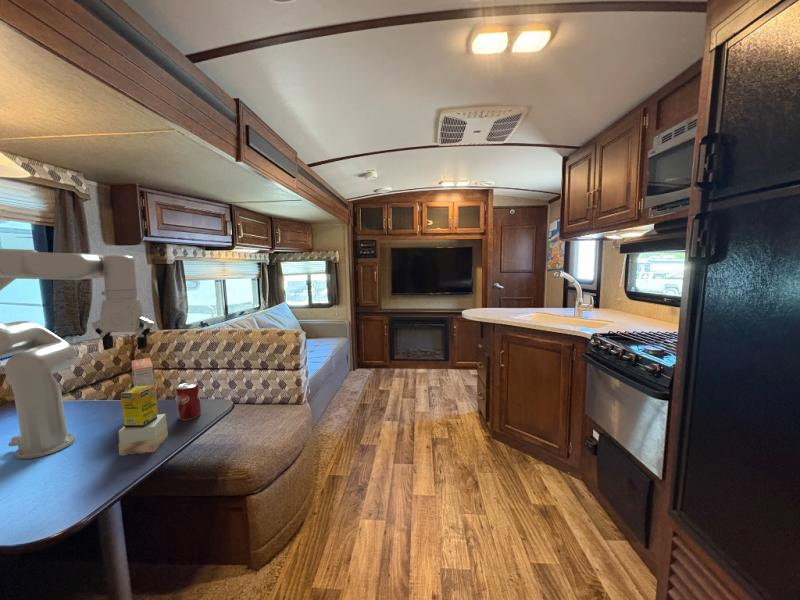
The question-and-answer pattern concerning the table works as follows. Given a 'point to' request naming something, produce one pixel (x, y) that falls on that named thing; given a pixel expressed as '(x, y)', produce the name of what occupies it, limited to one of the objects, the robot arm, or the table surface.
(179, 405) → the soda can
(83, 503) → the table surface
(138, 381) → the cracker box
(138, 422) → the supplement box
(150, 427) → the tower top block
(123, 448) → the tower base block
